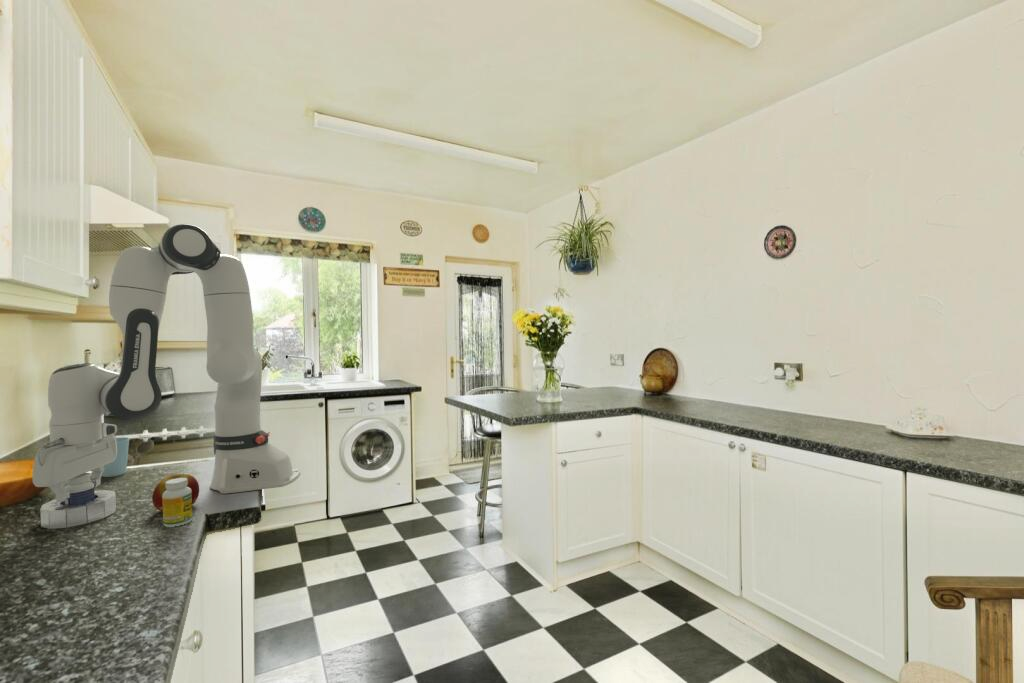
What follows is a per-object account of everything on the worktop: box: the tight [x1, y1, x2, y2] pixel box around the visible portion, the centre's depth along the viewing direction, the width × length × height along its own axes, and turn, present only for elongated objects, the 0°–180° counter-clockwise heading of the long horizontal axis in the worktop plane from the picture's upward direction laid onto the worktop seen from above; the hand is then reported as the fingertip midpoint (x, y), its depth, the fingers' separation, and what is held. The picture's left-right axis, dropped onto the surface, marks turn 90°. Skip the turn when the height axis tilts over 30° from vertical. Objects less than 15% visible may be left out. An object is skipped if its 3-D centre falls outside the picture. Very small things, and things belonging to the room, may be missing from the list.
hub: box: [39, 489, 117, 530], centre depth 107 cm, size 12×12×4 cm
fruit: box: [151, 473, 200, 512], centre depth 111 cm, size 10×9×8 cm
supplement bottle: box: [162, 478, 194, 528], centre depth 103 cm, size 5×5×10 cm
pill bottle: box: [63, 472, 95, 505], centre depth 107 cm, size 5×5×10 cm
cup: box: [101, 436, 130, 478], centre depth 140 cm, size 8×8×10 cm
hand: (79, 493), depth 107 cm, fingers open, 8 cm apart
